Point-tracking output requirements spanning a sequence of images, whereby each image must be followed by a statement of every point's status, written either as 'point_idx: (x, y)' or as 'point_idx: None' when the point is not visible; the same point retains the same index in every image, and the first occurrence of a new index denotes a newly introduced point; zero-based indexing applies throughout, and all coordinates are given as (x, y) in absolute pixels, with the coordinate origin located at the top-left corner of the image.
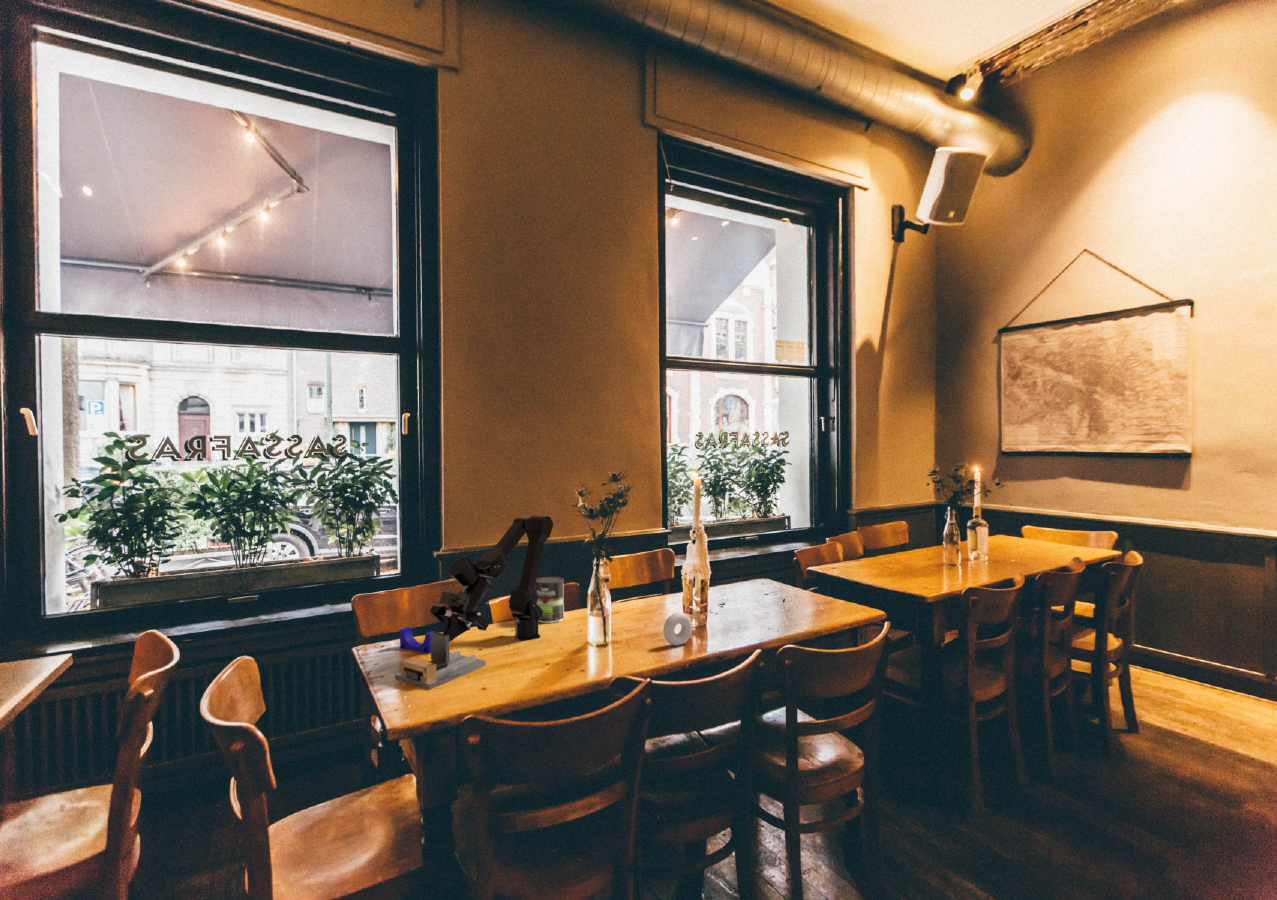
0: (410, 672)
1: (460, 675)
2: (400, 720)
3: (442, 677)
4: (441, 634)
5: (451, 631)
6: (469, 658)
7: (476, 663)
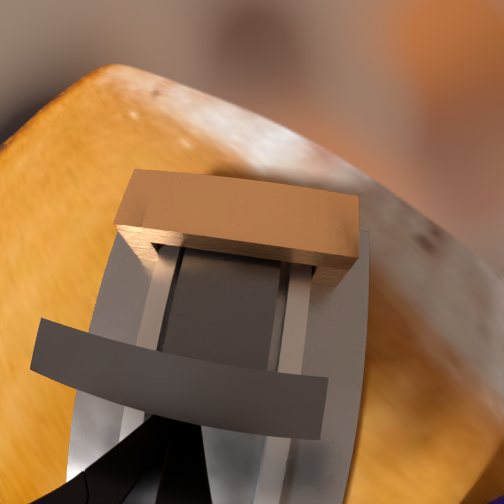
0: None
1: None
2: (116, 76)
3: (119, 278)
4: (119, 364)
5: (70, 484)
6: None
7: None
